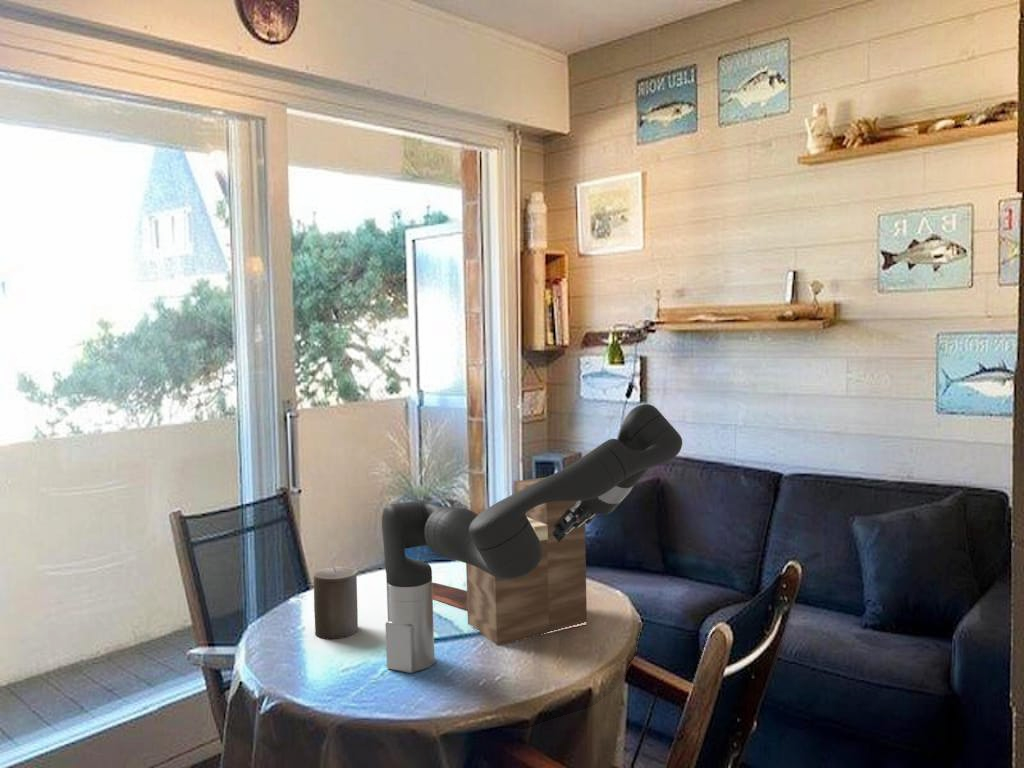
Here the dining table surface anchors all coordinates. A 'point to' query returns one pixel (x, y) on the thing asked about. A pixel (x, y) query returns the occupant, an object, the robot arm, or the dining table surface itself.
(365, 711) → the dining table surface
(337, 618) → the pillar candle
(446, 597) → the wooden tablet
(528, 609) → the block
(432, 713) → the dining table surface
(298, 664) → the dining table surface
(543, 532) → the maple rod
